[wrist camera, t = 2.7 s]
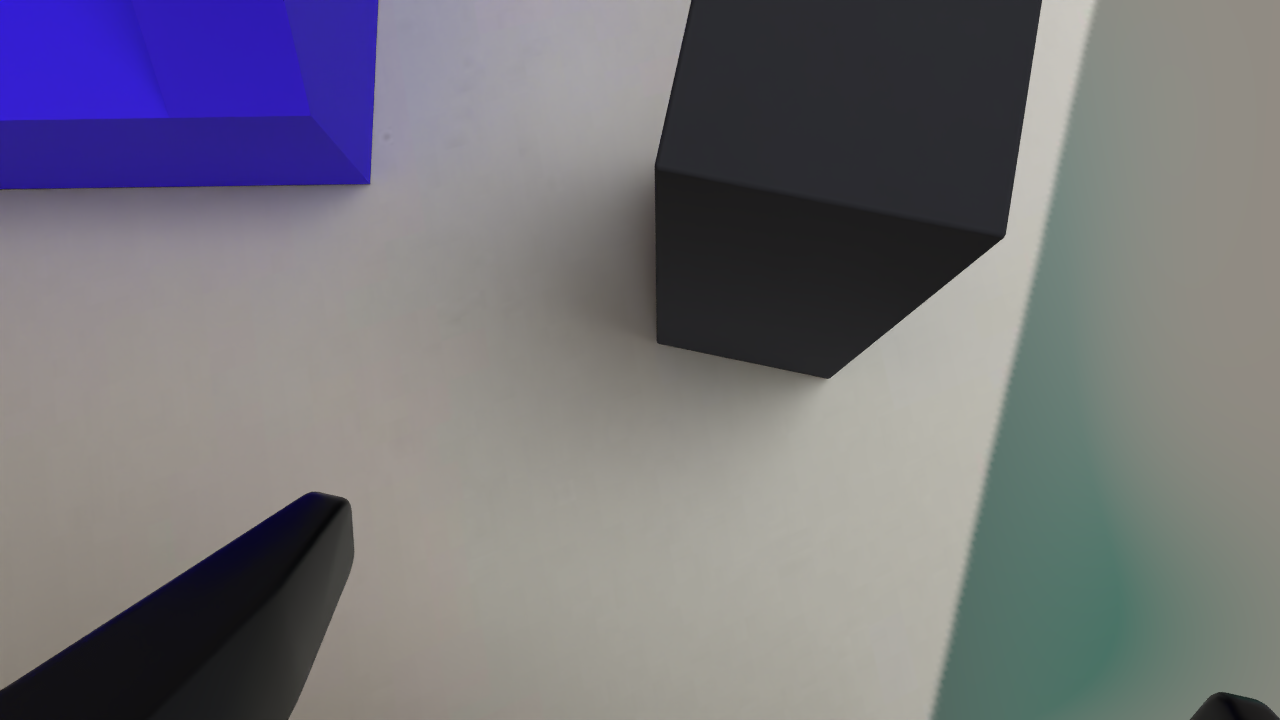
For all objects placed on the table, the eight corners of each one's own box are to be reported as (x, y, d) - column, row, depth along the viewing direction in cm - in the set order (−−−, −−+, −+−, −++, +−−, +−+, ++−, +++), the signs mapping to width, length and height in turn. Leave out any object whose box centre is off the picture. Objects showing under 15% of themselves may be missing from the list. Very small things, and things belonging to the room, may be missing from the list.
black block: (830, 379, 23) (1006, 237, 11) (656, 343, 23) (653, 168, 12) (863, 194, 24) (1061, -116, 12) (695, 162, 24) (729, -174, 12)
